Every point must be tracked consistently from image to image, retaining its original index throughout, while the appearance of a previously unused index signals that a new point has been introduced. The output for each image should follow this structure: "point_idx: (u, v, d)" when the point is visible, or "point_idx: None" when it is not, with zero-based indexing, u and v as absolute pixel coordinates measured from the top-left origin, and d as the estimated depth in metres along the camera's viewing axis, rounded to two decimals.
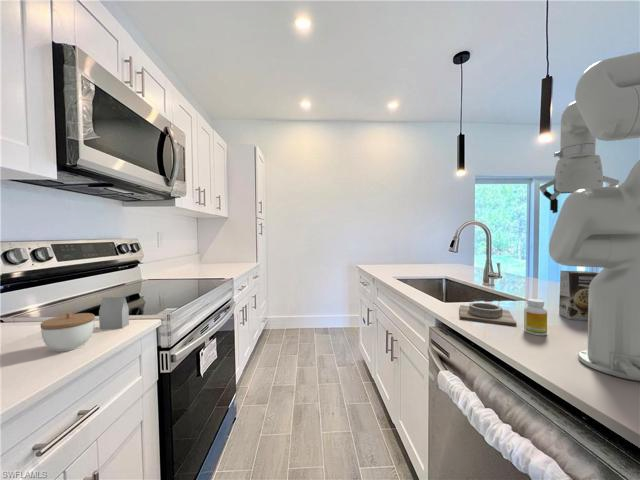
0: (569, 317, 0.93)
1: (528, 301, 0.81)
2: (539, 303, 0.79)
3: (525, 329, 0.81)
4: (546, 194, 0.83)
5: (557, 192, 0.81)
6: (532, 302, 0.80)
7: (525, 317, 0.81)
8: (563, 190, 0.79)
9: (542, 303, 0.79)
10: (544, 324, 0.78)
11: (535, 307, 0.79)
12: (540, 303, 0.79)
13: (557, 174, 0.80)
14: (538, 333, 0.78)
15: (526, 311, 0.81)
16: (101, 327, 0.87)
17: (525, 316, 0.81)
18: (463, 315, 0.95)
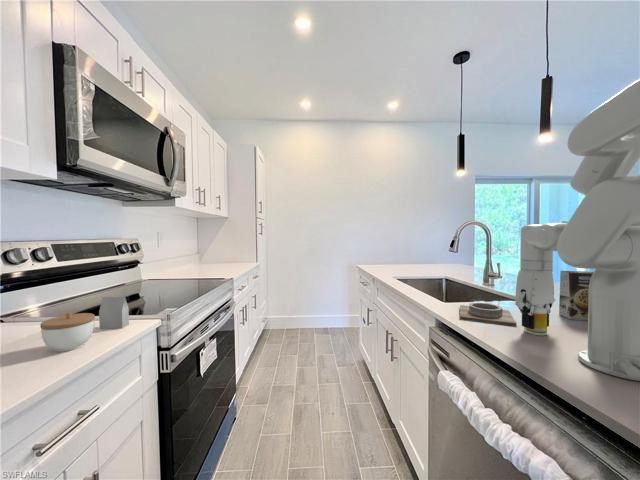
0: (569, 317, 0.93)
1: None
2: None
3: (525, 329, 0.81)
4: None
5: None
6: None
7: None
8: None
9: None
10: (544, 324, 0.78)
11: (535, 307, 0.79)
12: None
13: None
14: (538, 333, 0.78)
15: None
16: (101, 327, 0.87)
17: None
18: (463, 315, 0.95)
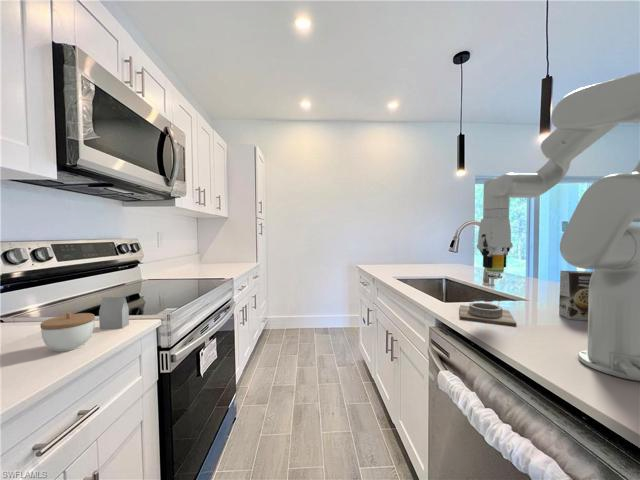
0: (569, 317, 0.93)
1: None
2: None
3: (486, 270, 0.94)
4: None
5: None
6: None
7: None
8: None
9: None
10: (501, 263, 0.91)
11: (493, 250, 0.92)
12: None
13: None
14: (495, 271, 0.91)
15: None
16: (101, 327, 0.87)
17: None
18: (463, 315, 0.95)
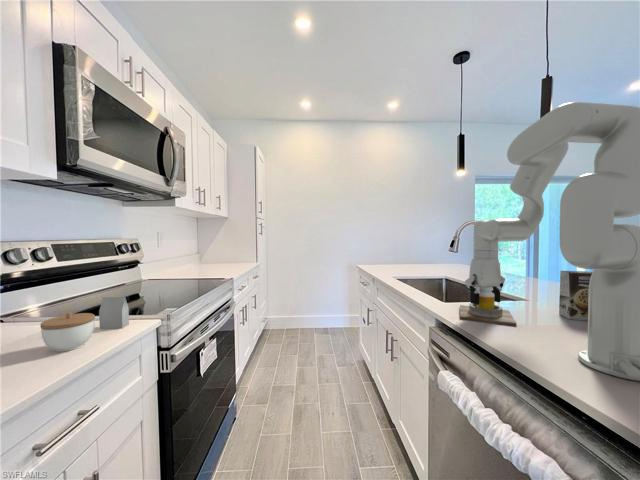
0: (569, 317, 0.93)
1: None
2: (487, 288, 0.95)
3: None
4: None
5: None
6: (482, 288, 0.96)
7: None
8: None
9: (490, 288, 0.95)
10: (492, 305, 0.94)
11: (484, 292, 0.95)
12: (488, 288, 0.95)
13: None
14: None
15: None
16: (101, 327, 0.87)
17: None
18: (463, 315, 0.95)
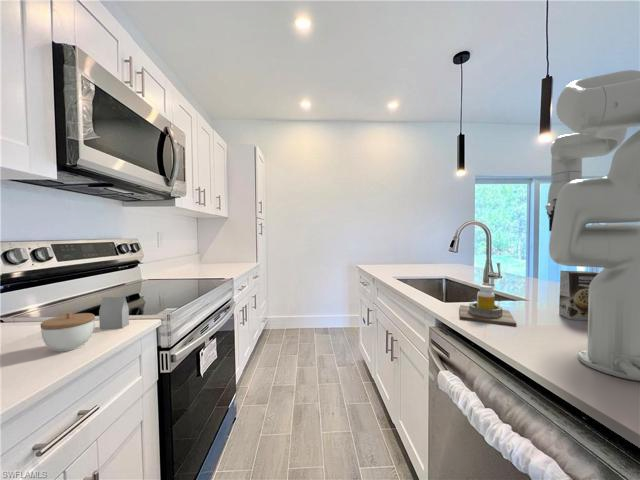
0: (569, 317, 0.93)
1: (480, 287, 0.97)
2: (488, 288, 0.95)
3: None
4: None
5: None
6: (482, 288, 0.96)
7: (477, 300, 0.97)
8: None
9: (490, 288, 0.95)
10: (492, 305, 0.94)
11: (484, 292, 0.95)
12: (488, 288, 0.95)
13: None
14: None
15: (478, 295, 0.97)
16: (101, 327, 0.87)
17: (477, 299, 0.97)
18: (463, 315, 0.95)
